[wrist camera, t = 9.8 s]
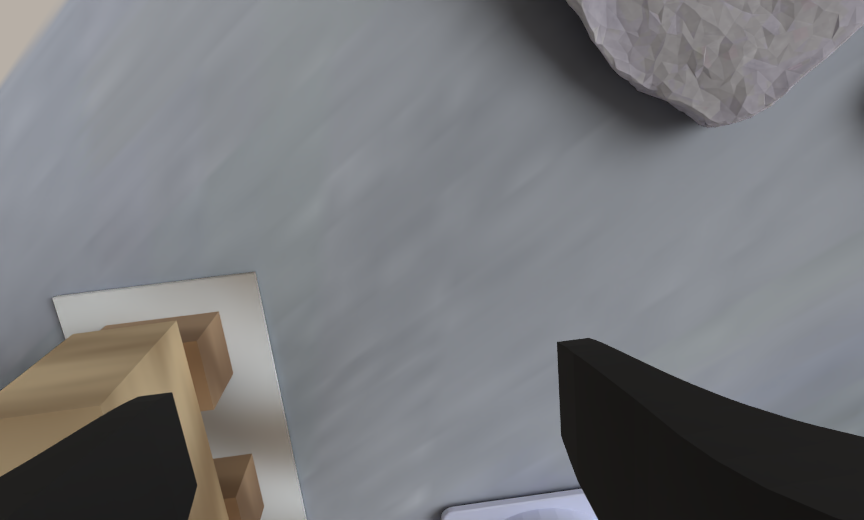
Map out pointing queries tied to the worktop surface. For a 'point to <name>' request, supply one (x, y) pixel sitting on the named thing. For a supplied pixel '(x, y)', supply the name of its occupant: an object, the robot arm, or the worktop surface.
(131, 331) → the lintel
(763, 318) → the worktop surface
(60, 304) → the base with blocks
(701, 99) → the stone block
